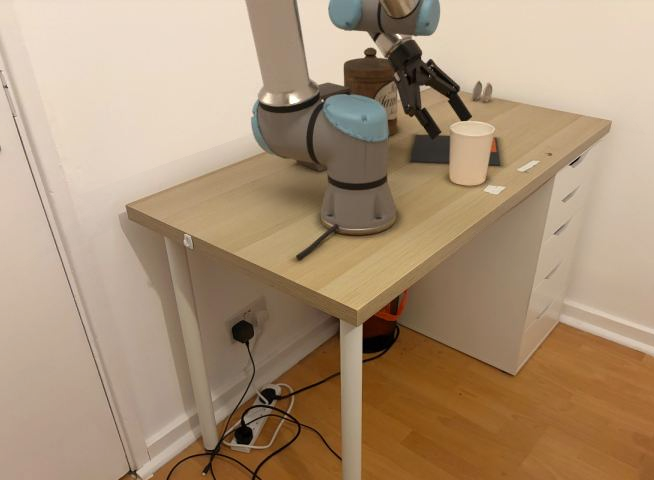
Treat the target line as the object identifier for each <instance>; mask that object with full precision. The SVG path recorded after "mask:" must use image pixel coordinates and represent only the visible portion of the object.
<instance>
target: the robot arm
mask: <svg viewBox="0 0 654 480" xmlns="http://www.w3.org/2000/svg"><path fill="white" fill-rule="evenodd" d="M244 2H245V7H246V11H247V16H248V21H249V24H250V30H251V34H252V38H253V43H254V48H255V52H256V57H257V61H258V66H259V71H260V76H261V80H262V86H261V88H260V89H259V91H258V93H257V99H256V101H255V103H254V104H253V106H252V110H251V112H252V114H253V115H252V116H251V117H250V126H251V131H252V134H253V137H254V139H255V141H256V143H257V144H258V146H259V147H260V148H261V149H262V150H263V151H264V152H266V153H267V154H270V155H273V156H276V157H279V158H281V159H284V160H296V161H297V160H300V161H305V162H311V163H316V164H321V165H325V166H327V169H326V171H327V184H326V185H327V186H326V189H325V192H324V196H323V199H322V203H321V206H320V221H321V224H322V225H323V226H324V227H325V228H327V230H326V231H325V232H324V233H323V234H322V235H321V236H319V237H318V238H317V239H316V240H315V241H314V242H313V243H311V244H310V245H308V246H307V247H306V248H305V249H303V250H302V251H300V252H299V253H297V254H296V255H295V258H296V259H297V260H300V259H302V258H303V257H305V256H307V254H309V253H310V252H312V251H313V250H314V249H315V248H316V247H318V246H319V245H320V244H321V243H322V242H323V241H324V240H326V239H327V238H328V237H329V236H330V235H332V234H333V233H334V232H335V233H337V234H342V235H348V236H367V235H368V236H369V235H373V234H378V233H381V232H383V231H386V230H387V229H389V228H391V227H392V226H394V224H395V223H396V220H397V208H396V204H395V200H394V198H393V194H392V191H391V188H390V185H389V182H388V173H389V171H388V166H389V136H388V135H389V128H388V116H387V112H386V110H385V108H384V107H383V106H382V105H381V104H380V103H379V102H377V101H375V100H373V99H371V98H368V97H364V96H360V95H352V94H351V95H346V94H339V95H334V96H331V97H329V98H327V99H326V100H325V102H324V101H323V100H321V98H320V91H319V86H318V85H319V84H318V83H317V82H316V81H314V80H313V79H311V78H310V74H309V68H308V61H307V55H306V49H305V44H304V36H303V30H302V24H301V17H300V11H299V5H298V0H244ZM327 6H328V7H327V11H328V16H329V20H330V22H331V24H333V26H334V27H336V28H337V29H339V30H343V31H345V32H347V31H348V32H353V31H354V32H366V33H367V34H368V35H369V37H370V38H371V40H372V41H373V43H374V44H375V45H376V47H377V48H378V50H379V51H380V52H381V54H382V56H383V58H384V59H388V63H389V65H390V66H391V68H392V69H393V71H394V72H395V74H394V75H393V76H392V79H393V80H394V82H395V84H396V86H397V94H398V96H399V99H400V102H401V103H400V104H401V106H402V109H403V112H404V114H405V115H407V116H409V118H413V117H414V118H416V120H417V121H418V122H419V124H420V125H421V127H422V128H423V129H424V130H425V132H426V134H427V135H429V136H430V138H431V139H432V140H433V139H435V138H436V137H437V136H438V135H440V134H442V132H443V131H442V130H441V129H440V127H439V126H438V124H437V123H436V121H435V120H434V118H433V117H432V115H431V114H430V112H429V111H428V109H427V108H426V106H425V107H423V106H422V98H421V97H422V95H421V87H423V86H425V87H430V88H432V89H433V90H435V91H436V92H438V93H440V94H441V95H442V96H444V97H446V98H447V99H448V100H447V102H448V104H449V106H450V107H451V109H452V110H453V111H454V113H455V114H456V116H457V118H458V119H459V120H460V122H462V121H470V119H471V118H473V115H472V113H471V112H470V111H469V109H468V107H467V106H466V105H465V102H464V101H463V100H462V98H461V97H460V95H459V92H460V91H461V86H460V85H459V84H458V83H457V82H456V81H455V80H453V79H452V77H450V76H449V75H448V73H446V72H444V70H442V69H441V68H440V67H439V66H438V65H437V64H436V63H435V62H436V61H434V60H433V59H432V58H429V59H428V60H427V61H426V62H425V61H424V60H423V59H422V56H423V50H422V49H421V47H420V45H419V44H418V43H417V41H416V40H415V39H413V37H430V36H432V35H433V34H434V33H435V32H436V31H437V28H438V26H439V22H440V18H441V4H440V0H329V2H328V5H327ZM422 107H423V108H422Z"/></svg>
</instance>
